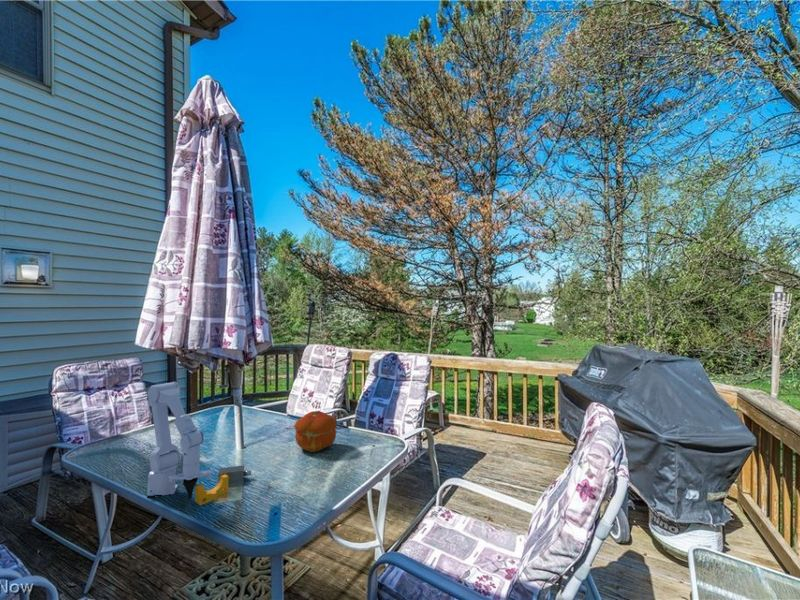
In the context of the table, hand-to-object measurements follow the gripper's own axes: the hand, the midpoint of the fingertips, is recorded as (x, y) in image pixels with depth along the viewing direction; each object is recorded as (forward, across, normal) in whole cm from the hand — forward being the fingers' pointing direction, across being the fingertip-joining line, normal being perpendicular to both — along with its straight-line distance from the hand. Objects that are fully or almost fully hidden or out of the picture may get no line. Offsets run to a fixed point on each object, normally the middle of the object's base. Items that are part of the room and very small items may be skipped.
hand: (190, 497), depth 149 cm
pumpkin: (+2, +54, +42) cm, 68 cm away
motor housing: (+1, +15, +6) cm, 17 cm away
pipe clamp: (+2, +8, 0) cm, 8 cm away
